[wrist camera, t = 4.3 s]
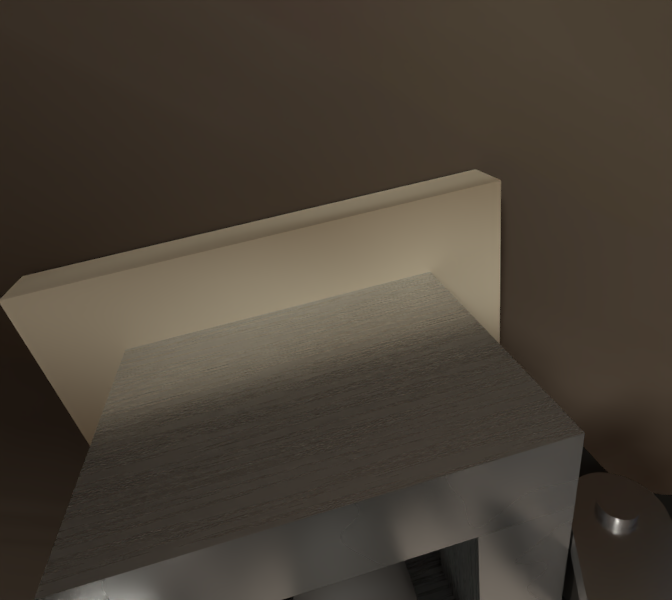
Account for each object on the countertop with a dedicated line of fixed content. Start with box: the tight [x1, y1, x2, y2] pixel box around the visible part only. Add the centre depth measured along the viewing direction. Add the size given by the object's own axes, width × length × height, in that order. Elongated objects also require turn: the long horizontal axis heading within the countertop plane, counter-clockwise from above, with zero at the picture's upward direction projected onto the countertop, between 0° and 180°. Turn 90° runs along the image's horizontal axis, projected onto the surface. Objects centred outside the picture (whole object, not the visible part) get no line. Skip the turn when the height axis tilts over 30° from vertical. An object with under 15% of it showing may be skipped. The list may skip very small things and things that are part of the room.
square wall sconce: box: [34, 272, 585, 600], centre depth 8 cm, size 6×6×4 cm
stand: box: [0, 169, 501, 600], centre depth 8 cm, size 9×9×7 cm
